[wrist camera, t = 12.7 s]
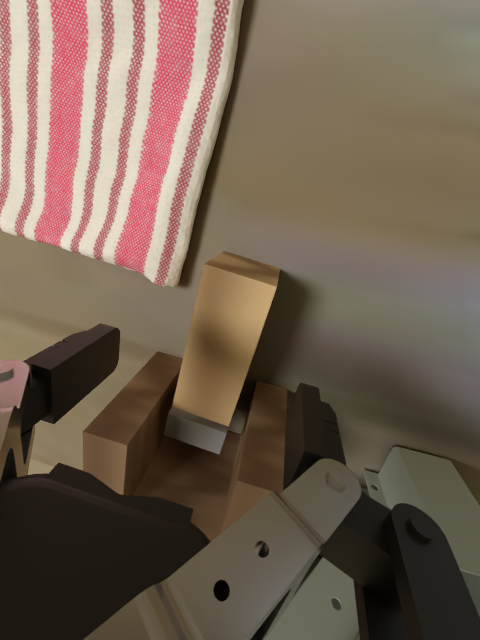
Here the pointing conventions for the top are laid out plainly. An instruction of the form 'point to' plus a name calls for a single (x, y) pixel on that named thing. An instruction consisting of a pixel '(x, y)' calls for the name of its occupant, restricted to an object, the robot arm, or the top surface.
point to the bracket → (392, 488)
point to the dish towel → (112, 123)
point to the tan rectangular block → (220, 348)
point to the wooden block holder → (187, 450)
